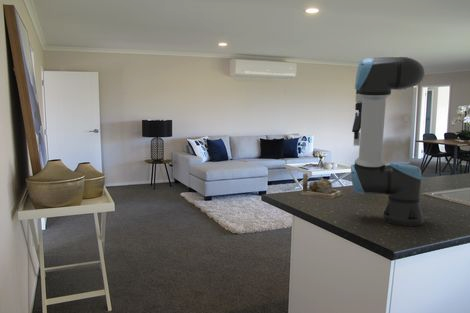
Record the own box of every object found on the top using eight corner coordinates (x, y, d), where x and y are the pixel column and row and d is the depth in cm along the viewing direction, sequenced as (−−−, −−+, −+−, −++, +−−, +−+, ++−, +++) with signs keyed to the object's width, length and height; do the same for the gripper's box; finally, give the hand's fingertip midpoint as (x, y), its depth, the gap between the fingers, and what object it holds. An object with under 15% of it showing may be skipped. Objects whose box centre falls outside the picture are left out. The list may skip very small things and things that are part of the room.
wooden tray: (330, 199, 189) (331, 177, 187) (300, 194, 199) (300, 174, 198) (341, 194, 199) (342, 174, 197) (312, 190, 209) (312, 170, 208)
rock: (337, 193, 196) (331, 175, 196) (331, 197, 192) (325, 178, 191) (318, 197, 205) (312, 179, 205) (312, 200, 200) (305, 183, 200)
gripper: (361, 102, 179) (359, 146, 181) (379, 102, 198) (377, 143, 201) (346, 102, 183) (344, 145, 186) (364, 102, 203) (363, 142, 205)
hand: (361, 144), depth 193 cm, fingers open, 13 cm apart
